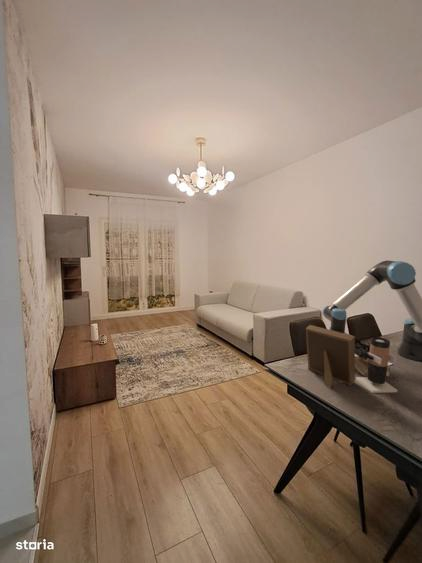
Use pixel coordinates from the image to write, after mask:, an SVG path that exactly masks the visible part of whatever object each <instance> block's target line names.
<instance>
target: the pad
mask: <svg viewBox="0 0 422 563" xmlns="http://www.w3.org/2000/svg"><path fill="white" fill-rule="evenodd" d="M355 381H357V382H358V383H360V385H362V386H364V387H365V388H366V389H367V390H368V391H369V392H371V393H372V394H377V393H379V394H381V393H382V394H383V393H398V389H396V388H395V386H392V385H391V384H390V383H389V382H387V381H385V383H384V384H377V383H373V382H371V381H369V380H368V378H367V376H355Z"/></svg>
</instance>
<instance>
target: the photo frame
mask: <svg viewBox="0 0 422 563" xmlns="http://www.w3.org/2000/svg"><path fill="white" fill-rule="evenodd" d="M348 334H349V333H347V334H344V333H340V332H336V331H332V330H328V328H324V327H319V326H316V325H312V324H309V325H308V326H307V327H306V328H305V337H306V353H307V355H306V356H307V367H308V370H310V371H313V372H315V373H319V374H321V375H323V376H324V385H326V387H328V388H329V389H332V386H333V381H334V380H336V381H338V382H341V383H343V384H346V385H348V386H352V385H353V384H354V382H355V381H356V369H355V356H356V354H355V337H356V336H355V335H351V334H350V335H348Z"/></svg>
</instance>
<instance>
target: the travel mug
mask: <svg viewBox="0 0 422 563" xmlns="http://www.w3.org/2000/svg"><path fill="white" fill-rule="evenodd" d="M390 344H391V342H390V340H389V339H387V338H383V337H377V336H375V337H372V338H370V352H368V353H371V354H373V355H375V356H377V357H379V358H381V359H382V361H381V364H378V363H376V362H374V361H372V360H370V359H369V360H368V365H367V366H368V375H367V376H366V377H367V378H368V380H369V381H371V382H373V383H377V384H384V383H385V382H386V378H387V376H386V373H387V366H389V360H388V357H389V354H390V348H391V345H390Z"/></svg>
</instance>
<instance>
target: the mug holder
mask: <svg viewBox="0 0 422 563" xmlns="http://www.w3.org/2000/svg"><path fill="white" fill-rule="evenodd" d="M368 360H369V359H368V358H367V360H366V359H364V357H363V358H361V357H359V356H357V355H355V371H357V372H359V373H360V374H361V375H363V377H367V375H368ZM390 373H391V366H389V365H388V366H387V373H386V377H390Z"/></svg>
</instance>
